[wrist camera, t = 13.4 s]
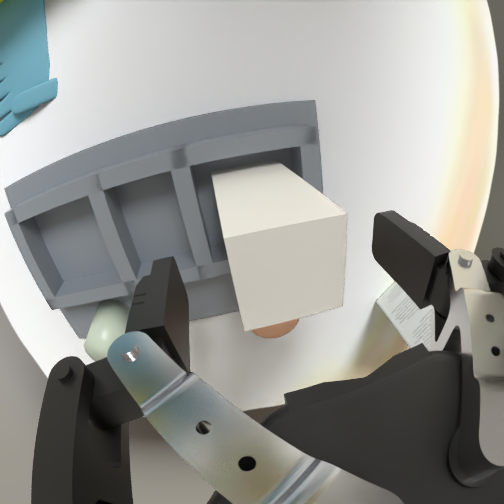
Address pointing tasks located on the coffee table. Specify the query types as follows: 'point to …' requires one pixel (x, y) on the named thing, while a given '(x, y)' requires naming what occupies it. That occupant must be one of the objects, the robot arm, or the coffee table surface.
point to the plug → (280, 243)
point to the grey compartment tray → (150, 213)
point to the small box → (407, 316)
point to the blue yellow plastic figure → (23, 61)
